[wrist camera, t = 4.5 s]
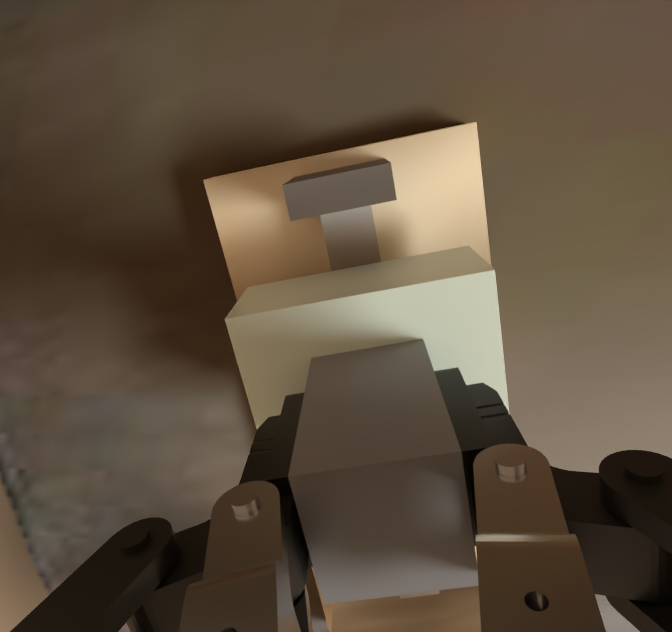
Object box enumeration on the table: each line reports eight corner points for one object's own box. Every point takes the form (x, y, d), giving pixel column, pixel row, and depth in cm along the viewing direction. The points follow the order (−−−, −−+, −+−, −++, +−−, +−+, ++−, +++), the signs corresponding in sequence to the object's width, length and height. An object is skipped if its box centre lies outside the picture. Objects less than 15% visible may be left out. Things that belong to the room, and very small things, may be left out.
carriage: (247, 287, 16) (152, 419, 8) (469, 245, 15) (580, 350, 8) (290, 445, 18) (244, 670, 10) (488, 415, 17) (592, 630, 10)
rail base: (215, 176, 18) (63, 219, 9) (466, 123, 17) (601, 107, 8) (336, 622, 25) (325, 912, 16) (518, 601, 24) (622, 895, 15)
